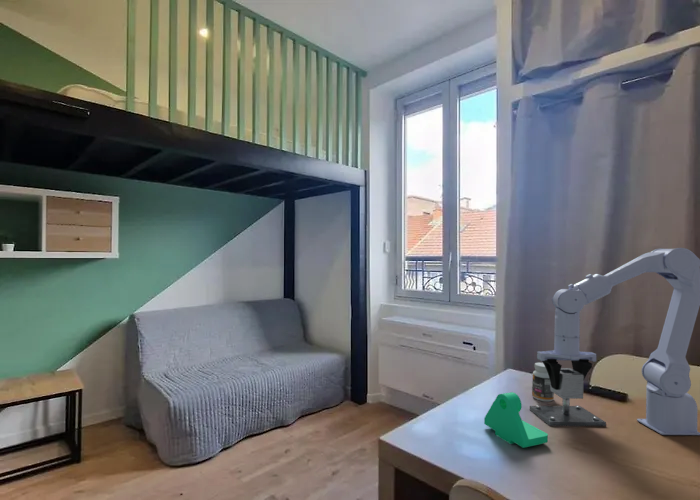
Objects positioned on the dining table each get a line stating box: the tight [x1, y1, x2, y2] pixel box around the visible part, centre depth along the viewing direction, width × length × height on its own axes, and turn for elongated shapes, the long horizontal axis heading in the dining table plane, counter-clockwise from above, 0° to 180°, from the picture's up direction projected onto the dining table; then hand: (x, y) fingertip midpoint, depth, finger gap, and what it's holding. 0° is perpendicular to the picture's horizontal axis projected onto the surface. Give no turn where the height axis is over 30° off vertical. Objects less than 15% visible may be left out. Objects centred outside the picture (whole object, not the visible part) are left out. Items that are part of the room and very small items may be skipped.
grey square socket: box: [550, 367, 585, 400], centre depth 100 cm, size 5×5×6 cm
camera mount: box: [484, 391, 549, 448], centre depth 89 cm, size 12×8×10 cm, turn 21°
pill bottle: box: [531, 362, 555, 403], centre depth 113 cm, size 6×6×10 cm
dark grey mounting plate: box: [529, 398, 607, 427], centre depth 100 cm, size 14×10×6 cm
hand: (566, 388), depth 100 cm, fingers closed on grey square socket, 5 cm apart
